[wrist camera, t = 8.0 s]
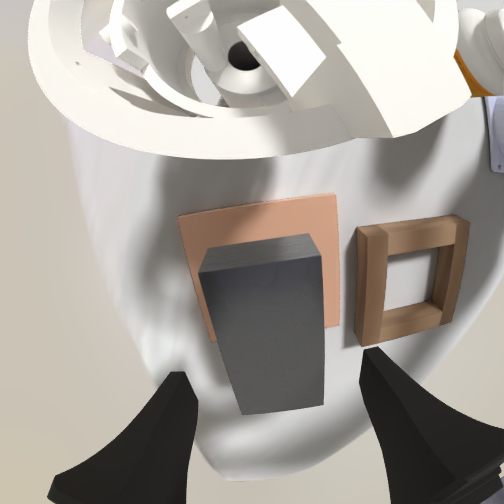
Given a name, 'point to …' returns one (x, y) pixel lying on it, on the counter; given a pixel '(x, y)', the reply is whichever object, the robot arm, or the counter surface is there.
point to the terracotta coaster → (266, 227)
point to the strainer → (252, 72)
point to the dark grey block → (269, 320)
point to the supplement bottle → (481, 51)
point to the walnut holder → (375, 273)
